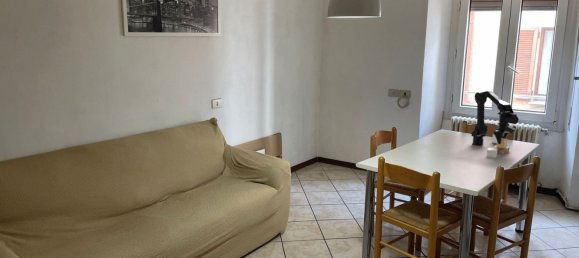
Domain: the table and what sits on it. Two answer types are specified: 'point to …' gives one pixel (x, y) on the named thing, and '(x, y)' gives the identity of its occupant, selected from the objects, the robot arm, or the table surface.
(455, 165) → the table surface
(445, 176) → the table surface
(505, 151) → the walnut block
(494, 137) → the medicine bottle
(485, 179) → the table surface
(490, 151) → the grey block
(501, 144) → the ochre block
